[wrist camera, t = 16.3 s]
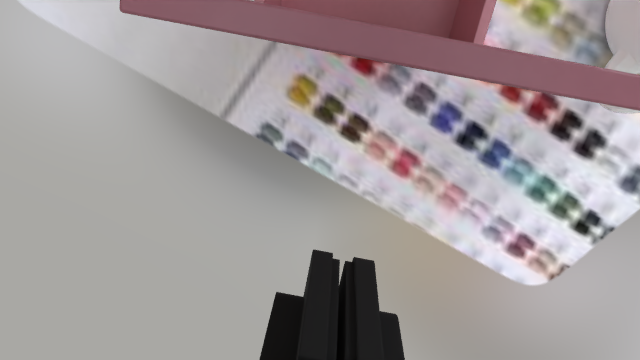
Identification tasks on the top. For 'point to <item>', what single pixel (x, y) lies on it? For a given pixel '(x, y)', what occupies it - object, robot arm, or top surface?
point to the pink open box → (408, 15)
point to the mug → (623, 40)
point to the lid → (399, 47)
